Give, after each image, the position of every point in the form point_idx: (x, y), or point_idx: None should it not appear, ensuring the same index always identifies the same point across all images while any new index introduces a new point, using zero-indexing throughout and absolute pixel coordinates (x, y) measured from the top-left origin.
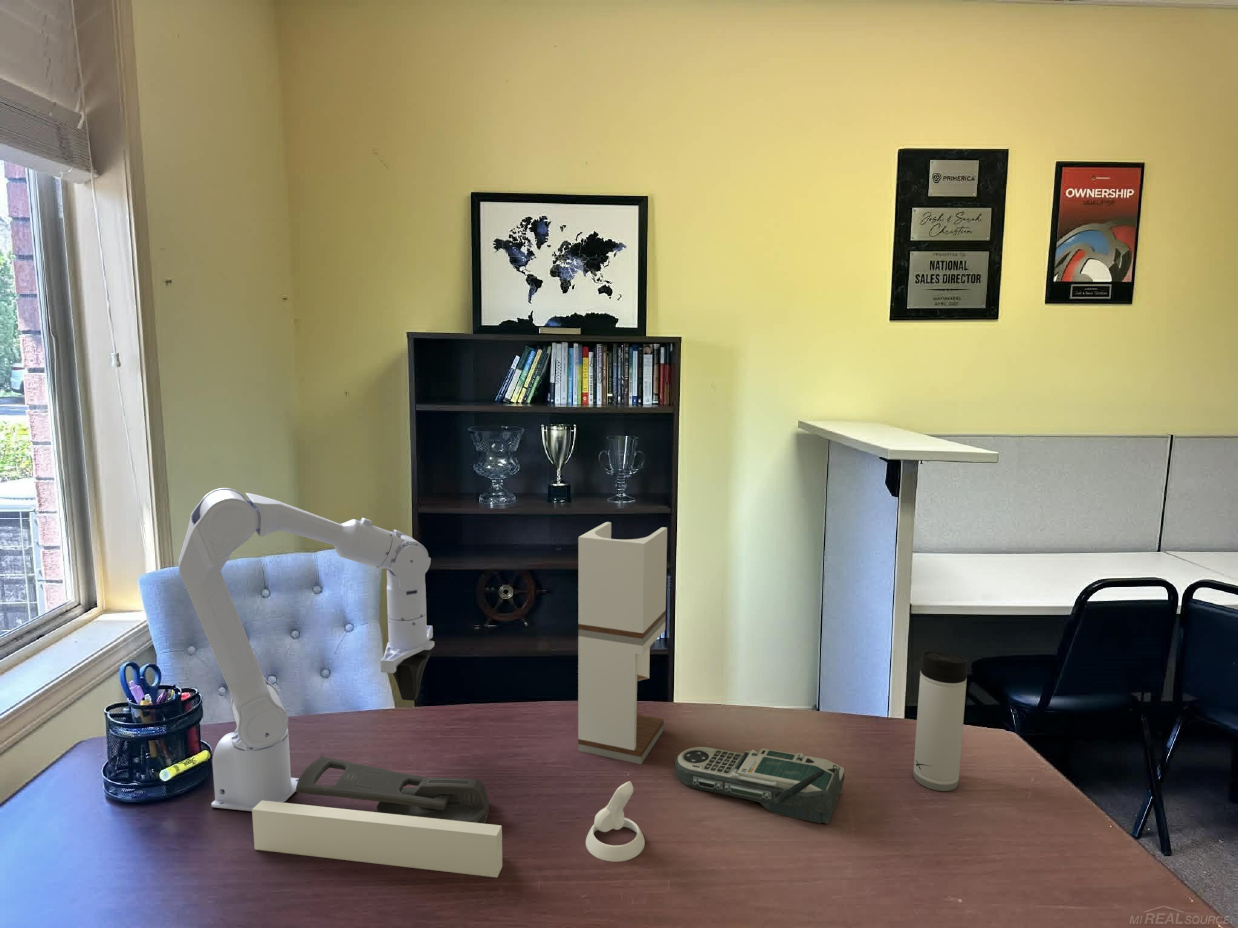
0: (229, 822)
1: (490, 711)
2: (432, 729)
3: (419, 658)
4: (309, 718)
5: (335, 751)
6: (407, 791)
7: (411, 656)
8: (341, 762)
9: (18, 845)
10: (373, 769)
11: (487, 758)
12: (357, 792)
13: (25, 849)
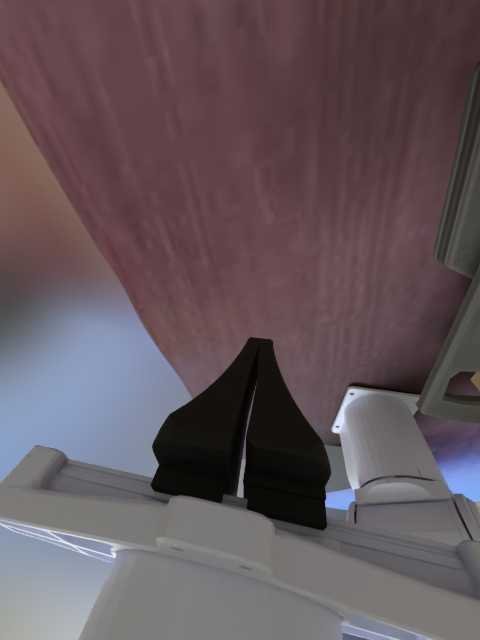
0: (427, 421)
1: (89, 190)
2: (188, 278)
3: (255, 459)
4: None
5: None
6: (476, 239)
7: (260, 490)
8: (446, 383)
9: None
10: (474, 326)
11: (269, 110)
12: None
13: None
